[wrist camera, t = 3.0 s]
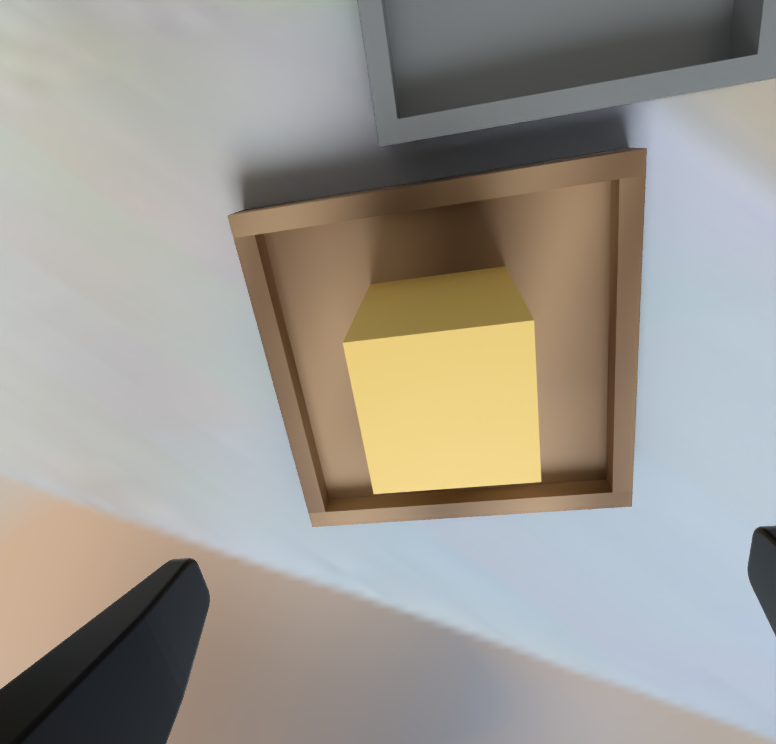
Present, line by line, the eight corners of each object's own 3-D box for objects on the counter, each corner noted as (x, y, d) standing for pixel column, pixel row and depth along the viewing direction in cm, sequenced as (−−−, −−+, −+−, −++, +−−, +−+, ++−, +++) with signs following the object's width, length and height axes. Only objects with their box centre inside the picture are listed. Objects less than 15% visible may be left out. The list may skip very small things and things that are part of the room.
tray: (629, 147, 15) (646, 148, 14) (619, 483, 20) (631, 506, 19) (242, 209, 17) (227, 215, 16) (319, 504, 22) (312, 526, 21)
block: (505, 266, 17) (534, 320, 12) (513, 389, 18) (541, 481, 13) (369, 284, 17) (342, 342, 12) (390, 401, 19) (373, 494, 14)
